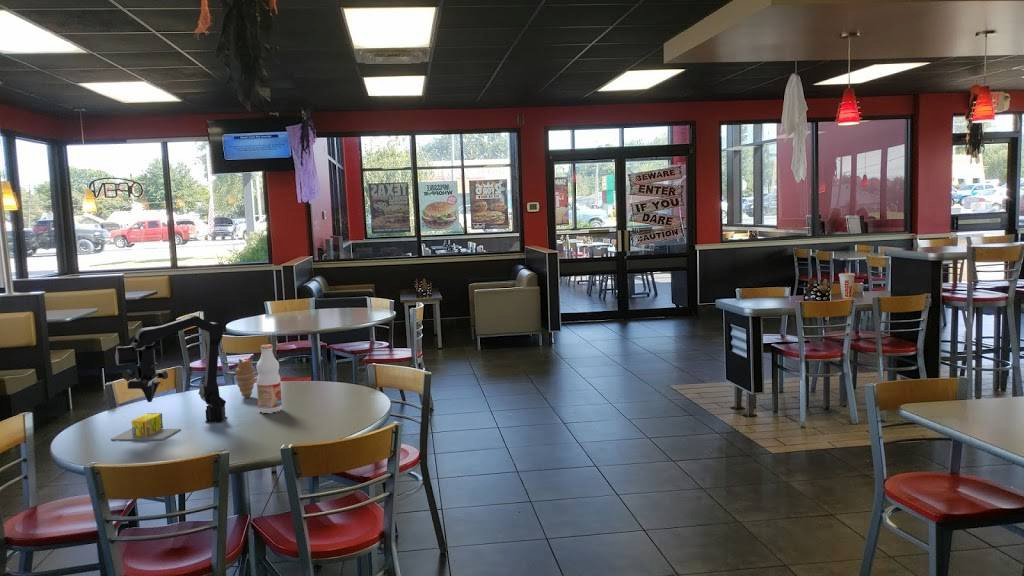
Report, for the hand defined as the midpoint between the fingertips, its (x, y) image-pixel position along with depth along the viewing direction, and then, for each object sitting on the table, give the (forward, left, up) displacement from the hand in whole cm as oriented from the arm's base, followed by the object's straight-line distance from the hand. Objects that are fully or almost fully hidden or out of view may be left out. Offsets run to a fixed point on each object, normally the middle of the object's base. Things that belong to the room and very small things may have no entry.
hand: (149, 401), depth 290 cm
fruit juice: (-35, -30, -12) cm, 47 cm away
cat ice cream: (-15, -53, -12) cm, 56 cm away
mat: (0, +4, -12) cm, 13 cm away
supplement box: (0, -4, -8) cm, 9 cm away
